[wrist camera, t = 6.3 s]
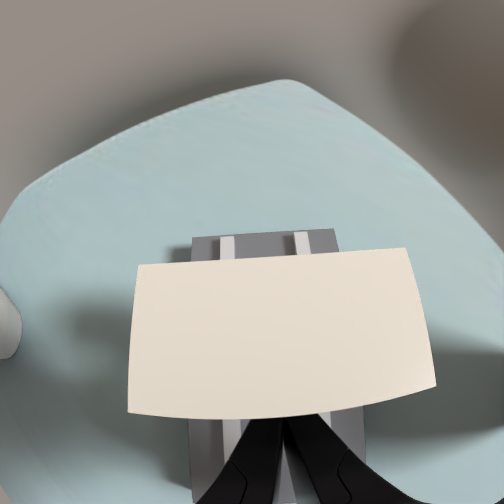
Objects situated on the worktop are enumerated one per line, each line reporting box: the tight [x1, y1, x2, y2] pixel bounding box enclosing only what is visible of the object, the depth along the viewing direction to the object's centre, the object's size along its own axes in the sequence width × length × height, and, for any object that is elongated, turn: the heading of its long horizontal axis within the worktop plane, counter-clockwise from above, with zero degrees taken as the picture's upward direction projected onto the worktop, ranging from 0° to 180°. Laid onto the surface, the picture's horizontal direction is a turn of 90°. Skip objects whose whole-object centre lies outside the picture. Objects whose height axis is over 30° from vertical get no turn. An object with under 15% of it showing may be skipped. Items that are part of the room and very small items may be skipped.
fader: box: [128, 248, 436, 419], centre depth 9 cm, size 4×7×8 cm, turn 93°
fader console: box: [188, 229, 366, 504], centre depth 14 cm, size 16×9×3 cm, turn 3°
